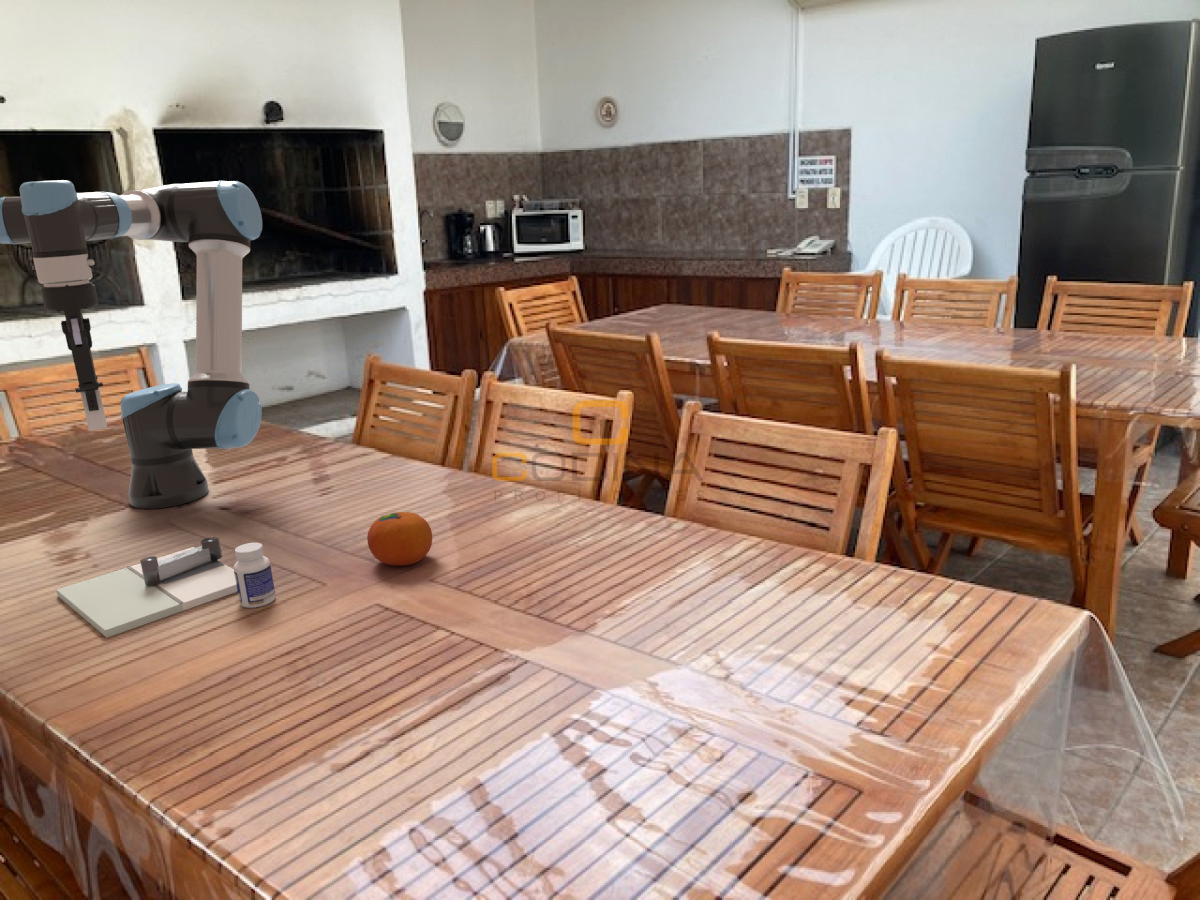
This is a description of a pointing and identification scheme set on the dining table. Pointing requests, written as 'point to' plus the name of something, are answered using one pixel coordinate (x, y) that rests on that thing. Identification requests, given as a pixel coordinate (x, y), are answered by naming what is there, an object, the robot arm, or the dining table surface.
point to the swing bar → (180, 561)
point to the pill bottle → (253, 576)
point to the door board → (145, 595)
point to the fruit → (400, 538)
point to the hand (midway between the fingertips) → (98, 428)
